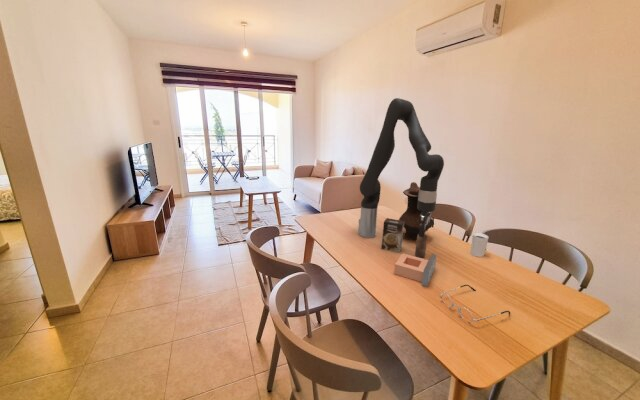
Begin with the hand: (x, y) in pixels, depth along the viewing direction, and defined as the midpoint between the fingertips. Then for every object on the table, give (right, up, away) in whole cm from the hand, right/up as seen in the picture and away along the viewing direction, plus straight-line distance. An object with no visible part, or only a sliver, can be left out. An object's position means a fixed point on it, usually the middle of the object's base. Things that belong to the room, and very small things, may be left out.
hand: (423, 233), depth 121 cm
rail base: (-11, -16, -8) cm, 21 cm away
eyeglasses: (+6, -23, -29) cm, 37 cm away
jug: (+6, -6, +29) cm, 30 cm away
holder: (-9, -15, -10) cm, 20 cm away
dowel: (0, -13, +4) cm, 13 cm away
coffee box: (-12, -11, +12) cm, 20 cm away
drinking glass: (+30, -12, +9) cm, 34 cm away
